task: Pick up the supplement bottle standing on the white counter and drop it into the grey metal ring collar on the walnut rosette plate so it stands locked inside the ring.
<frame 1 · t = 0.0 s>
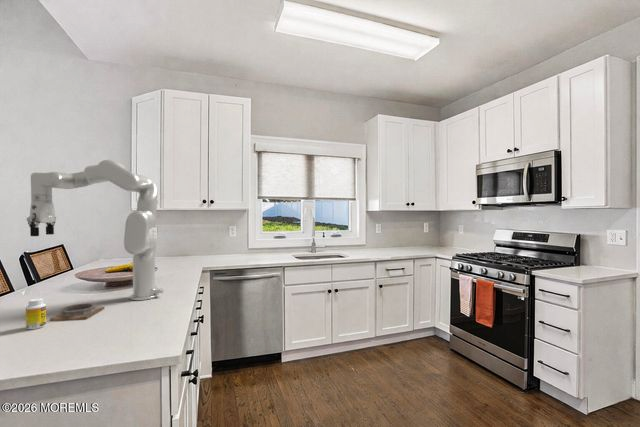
hand: (42, 235, 152), 31 cm above the worktop, tool pointing down, fingers open, 9 cm apart
supplement bottle: (36, 327, 119), on the worktop
rosette collar: (78, 314, 132), on the worktop
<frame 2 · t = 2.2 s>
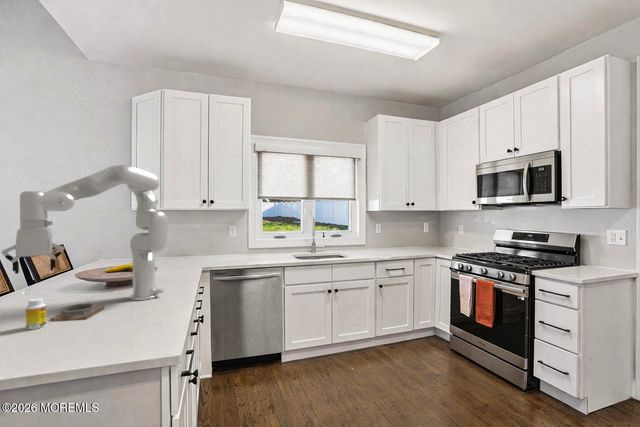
hand: (34, 271, 119), 21 cm above the worktop, tool pointing down, fingers open, 9 cm apart
nothing on the worktop moved.
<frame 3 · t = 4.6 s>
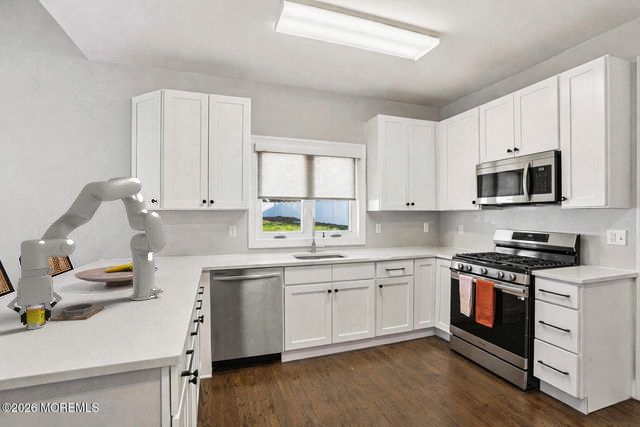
hand: (36, 321, 119), 2 cm above the worktop, tool pointing down, fingers closed on supplement bottle, 5 cm apart
supplement bottle: (36, 327, 119), on the worktop, touching gripper
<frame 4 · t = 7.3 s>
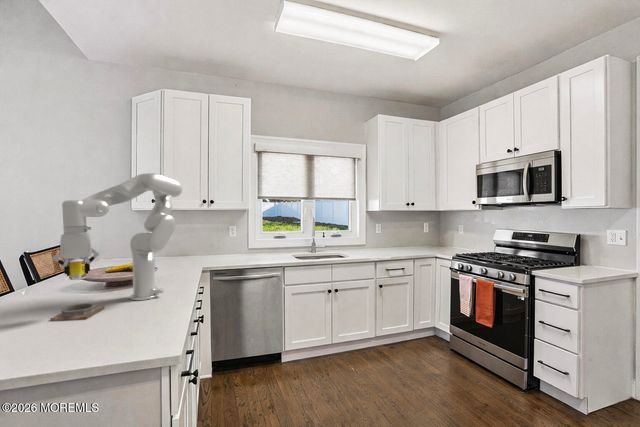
hand: (77, 274, 132), 17 cm above the worktop, tool pointing down, fingers closed on supplement bottle, 5 cm apart
supplement bottle: (77, 279, 132), point 15 cm above the worktop, touching gripper
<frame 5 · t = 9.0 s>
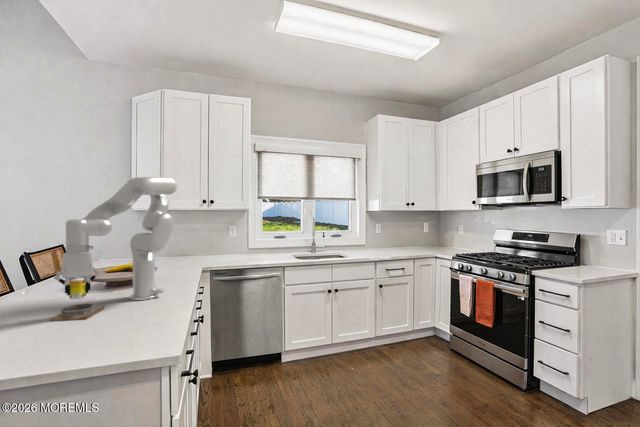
hand: (77, 293, 132), 9 cm above the worktop, tool pointing down, fingers closed on supplement bottle, 5 cm apart
supplement bottle: (77, 298, 132), point 7 cm above the worktop, touching gripper
when the fingers open (4 cm above the worktop, at t = 10.3 s): supplement bottle drops 1 cm, resting on rosette collar.
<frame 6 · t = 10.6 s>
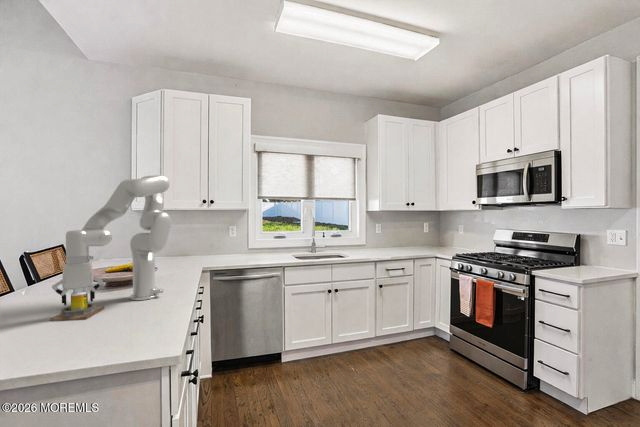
hand: (78, 302, 132), 5 cm above the worktop, tool pointing down, fingers open, 8 cm apart
supplement bottle: (79, 312, 133), point 1 cm above the worktop, touching rosette collar
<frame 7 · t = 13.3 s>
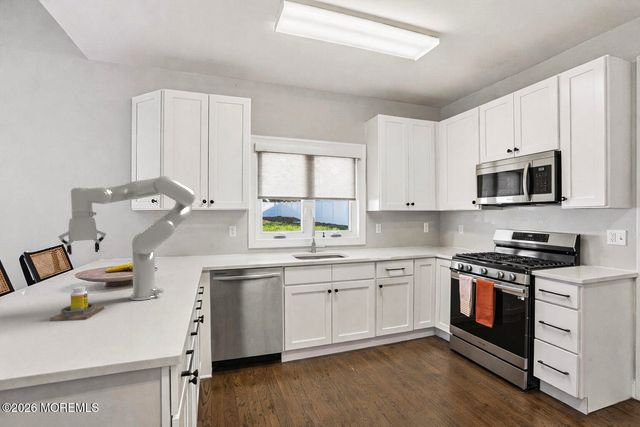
hand: (83, 253, 146), 24 cm above the worktop, tool pointing down, fingers open, 9 cm apart
nothing on the worktop moved.
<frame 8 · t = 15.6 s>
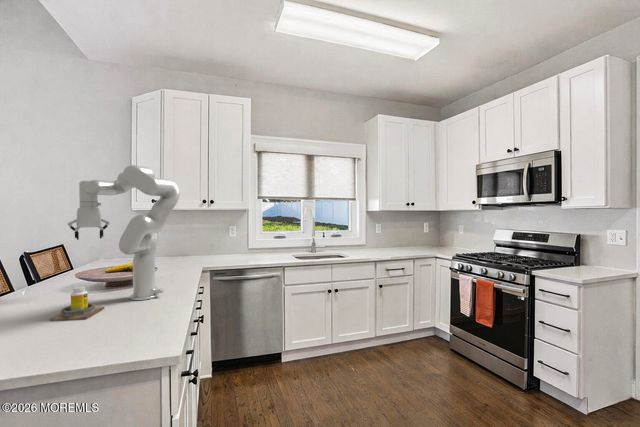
hand: (89, 238, 164), 28 cm above the worktop, tool pointing down, fingers open, 9 cm apart
nothing on the worktop moved.
at the end: supplement bottle 0.3 cm off-centre on the rosette collar, point 0.8 cm above the rosette collar's base; supplement bottle tilted 0°; the gripper is holding nothing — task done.
